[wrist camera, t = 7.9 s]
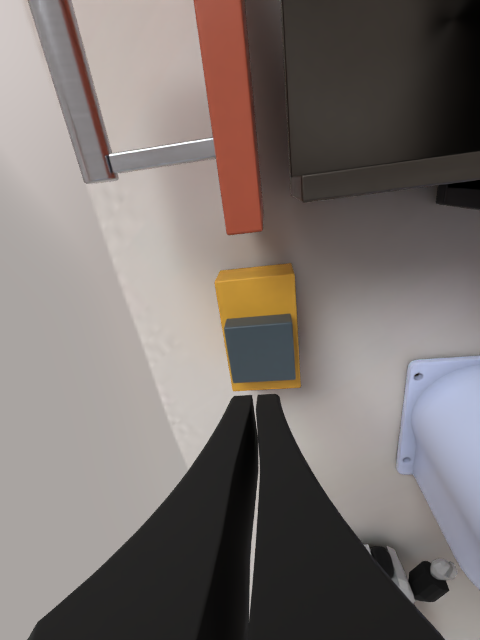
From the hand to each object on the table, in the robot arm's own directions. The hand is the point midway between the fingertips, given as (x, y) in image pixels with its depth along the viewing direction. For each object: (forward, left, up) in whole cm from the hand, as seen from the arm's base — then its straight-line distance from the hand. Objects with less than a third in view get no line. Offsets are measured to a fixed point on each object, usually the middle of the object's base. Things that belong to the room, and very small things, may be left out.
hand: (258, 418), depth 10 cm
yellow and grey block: (0, 0, -8) cm, 8 cm away
